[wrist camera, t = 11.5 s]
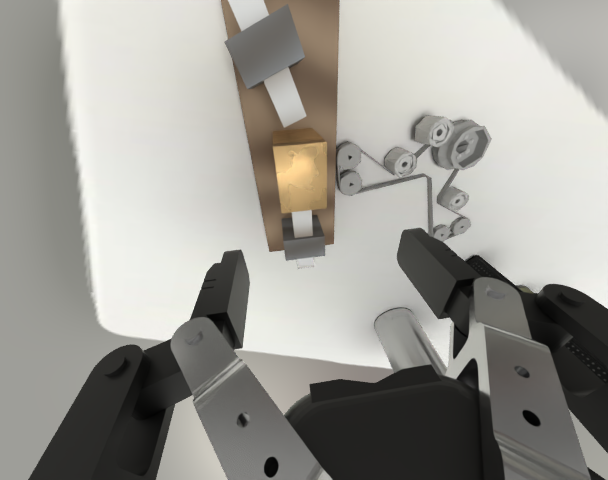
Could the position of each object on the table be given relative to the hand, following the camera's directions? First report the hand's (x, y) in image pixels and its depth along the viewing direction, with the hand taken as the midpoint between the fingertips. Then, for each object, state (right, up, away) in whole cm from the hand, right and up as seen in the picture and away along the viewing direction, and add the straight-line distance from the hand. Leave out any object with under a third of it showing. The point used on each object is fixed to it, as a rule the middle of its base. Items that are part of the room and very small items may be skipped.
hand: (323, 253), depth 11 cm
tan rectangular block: (-2, +11, +15) cm, 18 cm away
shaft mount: (-2, +11, +16) cm, 20 cm away
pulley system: (+16, +10, +20) cm, 28 cm away
